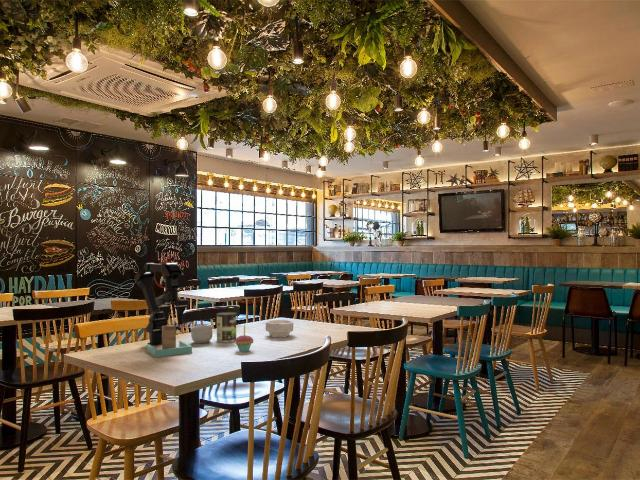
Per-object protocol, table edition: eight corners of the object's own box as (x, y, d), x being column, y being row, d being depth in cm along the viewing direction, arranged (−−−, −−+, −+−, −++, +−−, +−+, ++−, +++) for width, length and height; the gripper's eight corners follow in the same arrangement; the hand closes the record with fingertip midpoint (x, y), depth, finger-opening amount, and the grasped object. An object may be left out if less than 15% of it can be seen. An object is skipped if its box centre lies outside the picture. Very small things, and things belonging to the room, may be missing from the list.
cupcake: (235, 348, 227) (235, 323, 227) (253, 348, 228) (253, 323, 228) (234, 352, 218) (234, 326, 218) (253, 352, 219) (252, 326, 219)
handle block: (161, 351, 222) (161, 325, 222) (172, 350, 225) (172, 324, 225) (165, 353, 218) (164, 327, 218) (175, 352, 221) (175, 326, 221)
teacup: (206, 344, 237) (206, 328, 237) (186, 344, 239) (186, 328, 239) (218, 339, 251) (218, 324, 251) (199, 338, 253) (199, 323, 253)
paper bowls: (298, 335, 262) (298, 320, 262) (282, 339, 249) (282, 324, 249) (276, 332, 270) (276, 318, 270) (259, 336, 257) (259, 322, 258)
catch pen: (146, 351, 223) (146, 344, 223) (181, 346, 232) (181, 340, 232) (155, 357, 210) (155, 350, 210) (192, 352, 219) (191, 346, 219)
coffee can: (240, 339, 252) (240, 312, 252) (230, 342, 242) (230, 315, 242) (223, 338, 255) (222, 311, 255) (212, 341, 245) (212, 314, 245)
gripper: (145, 290, 231) (146, 322, 230) (170, 289, 220) (171, 323, 219) (164, 288, 240) (166, 319, 239) (189, 287, 229) (190, 320, 228)
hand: (172, 320), depth 231 cm, fingers open, 9 cm apart
